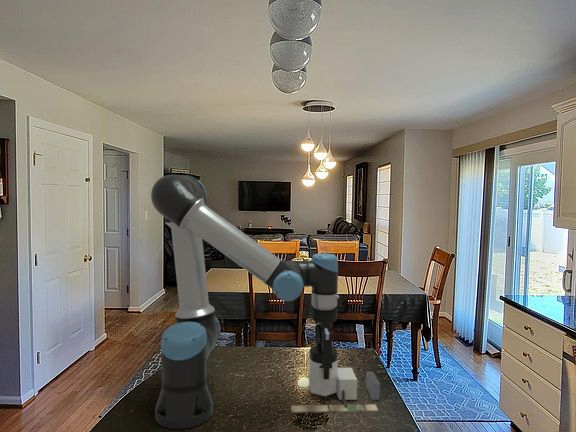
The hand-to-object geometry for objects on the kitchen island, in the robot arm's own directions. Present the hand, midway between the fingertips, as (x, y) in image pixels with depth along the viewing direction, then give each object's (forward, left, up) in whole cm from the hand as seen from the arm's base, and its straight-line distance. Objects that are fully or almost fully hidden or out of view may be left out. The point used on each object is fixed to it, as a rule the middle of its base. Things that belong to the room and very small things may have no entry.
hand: (323, 381), depth 125 cm
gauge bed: (+2, -8, -4) cm, 10 cm away
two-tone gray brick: (+15, 0, -4) cm, 16 cm away
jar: (0, 0, -3) cm, 3 cm away
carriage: (+7, -2, -4) cm, 8 cm away
